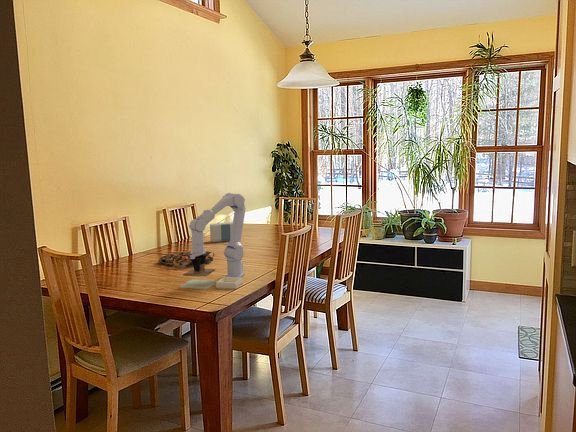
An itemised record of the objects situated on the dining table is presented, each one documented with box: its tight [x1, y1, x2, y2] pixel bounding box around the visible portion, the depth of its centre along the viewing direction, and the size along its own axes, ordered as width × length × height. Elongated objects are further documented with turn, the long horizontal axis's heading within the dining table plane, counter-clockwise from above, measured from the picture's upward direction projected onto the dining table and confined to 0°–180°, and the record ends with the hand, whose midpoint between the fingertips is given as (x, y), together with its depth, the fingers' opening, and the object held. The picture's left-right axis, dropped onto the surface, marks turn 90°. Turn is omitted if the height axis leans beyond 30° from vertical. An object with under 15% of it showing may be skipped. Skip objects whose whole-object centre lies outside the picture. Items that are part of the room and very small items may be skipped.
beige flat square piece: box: [178, 278, 218, 290], centre depth 243 cm, size 14×15×1 cm
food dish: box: [158, 250, 215, 269], centre depth 293 cm, size 35×33×8 cm
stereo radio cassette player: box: [209, 213, 234, 243], centre depth 359 cm, size 21×8×20 cm, turn 113°
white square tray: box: [215, 276, 243, 290], centre depth 239 cm, size 10×10×3 cm
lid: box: [182, 264, 216, 277], centre depth 242 cm, size 12×12×4 cm
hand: (198, 270), depth 242 cm, fingers closed on lid, 4 cm apart
